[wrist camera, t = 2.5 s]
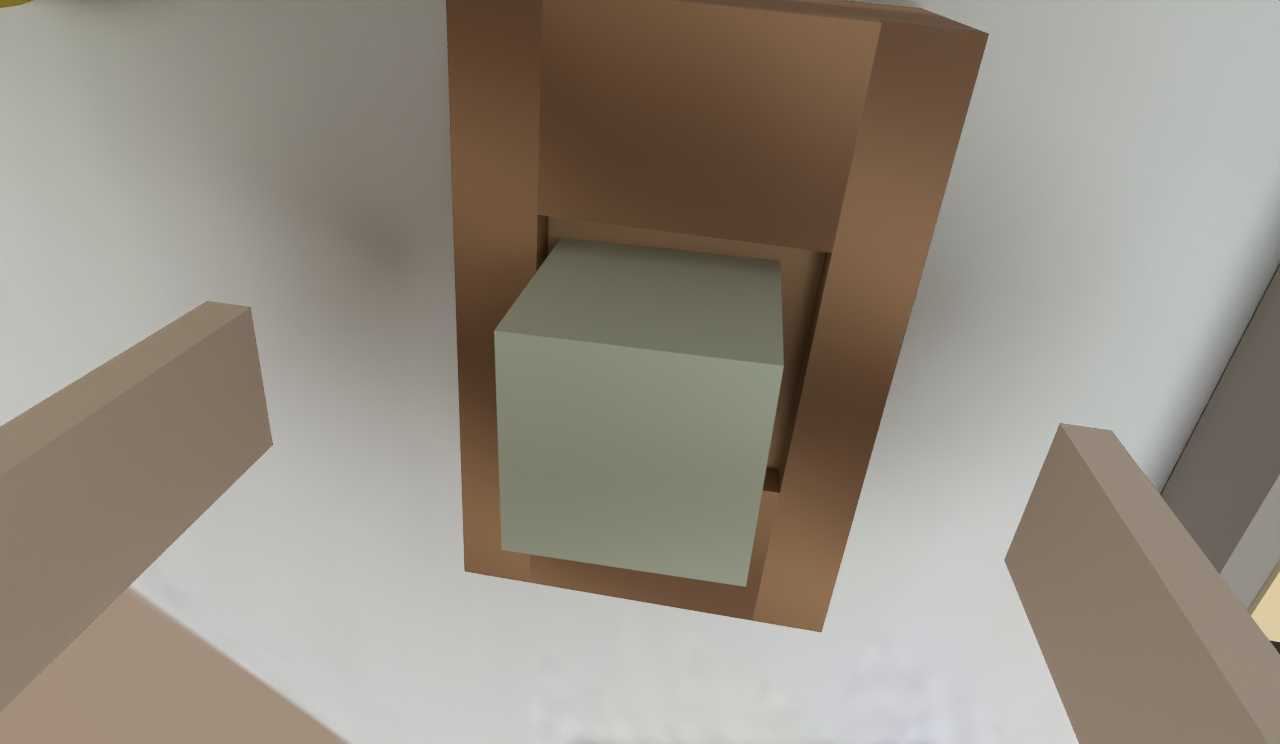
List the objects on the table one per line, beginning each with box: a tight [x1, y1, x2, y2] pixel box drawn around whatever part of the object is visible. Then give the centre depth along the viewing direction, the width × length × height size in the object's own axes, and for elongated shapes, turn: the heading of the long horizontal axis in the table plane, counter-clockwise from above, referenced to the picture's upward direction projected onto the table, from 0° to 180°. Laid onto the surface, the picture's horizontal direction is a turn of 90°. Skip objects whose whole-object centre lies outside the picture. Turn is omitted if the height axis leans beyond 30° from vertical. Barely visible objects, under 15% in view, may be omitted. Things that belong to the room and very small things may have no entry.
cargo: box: [494, 238, 784, 587], centre depth 13 cm, size 4×4×4 cm
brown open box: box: [446, 0, 989, 632], centre depth 17 cm, size 12×8×6 cm, turn 175°
